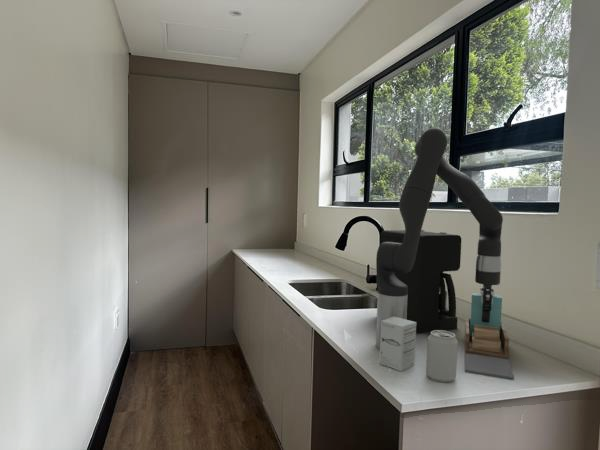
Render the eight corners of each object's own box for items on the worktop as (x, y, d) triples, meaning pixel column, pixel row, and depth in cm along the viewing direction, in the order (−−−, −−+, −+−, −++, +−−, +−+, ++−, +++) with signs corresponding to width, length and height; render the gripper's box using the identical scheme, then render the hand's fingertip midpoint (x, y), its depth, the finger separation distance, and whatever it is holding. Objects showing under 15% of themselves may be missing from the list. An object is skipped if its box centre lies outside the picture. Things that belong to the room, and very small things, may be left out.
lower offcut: (500, 352, 128) (500, 342, 128) (471, 348, 131) (472, 339, 131) (498, 345, 135) (498, 336, 135) (471, 341, 138) (471, 332, 137)
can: (436, 385, 106) (438, 338, 106) (420, 373, 113) (422, 329, 113) (462, 382, 108) (464, 336, 108) (444, 370, 115) (446, 327, 115)
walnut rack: (507, 359, 126) (509, 336, 125) (464, 352, 130) (466, 330, 130) (503, 342, 141) (504, 322, 140) (464, 337, 145) (465, 317, 145)
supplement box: (378, 364, 119) (379, 320, 118) (392, 357, 124) (394, 315, 123) (401, 372, 114) (402, 326, 113) (415, 365, 119) (417, 321, 118)
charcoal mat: (513, 379, 111) (514, 377, 111) (465, 371, 115) (465, 369, 115) (508, 361, 124) (508, 359, 124) (464, 354, 128) (465, 353, 128)
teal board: (499, 343, 137) (502, 298, 136) (469, 339, 140) (472, 295, 139) (498, 340, 140) (501, 296, 139) (469, 336, 143) (471, 293, 142)
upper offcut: (498, 342, 129) (499, 332, 129) (474, 338, 131) (474, 329, 131) (497, 336, 134) (497, 327, 134) (473, 333, 137) (474, 324, 137)
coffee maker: (467, 331, 152) (472, 235, 151) (425, 337, 144) (430, 235, 142) (415, 312, 178) (418, 229, 176) (377, 316, 169) (380, 229, 167)
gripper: (502, 273, 131) (499, 328, 131) (499, 267, 144) (496, 317, 145) (476, 271, 133) (473, 324, 134) (475, 265, 146) (472, 314, 147)
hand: (485, 320), depth 139 cm, fingers closed on teal board, 3 cm apart
